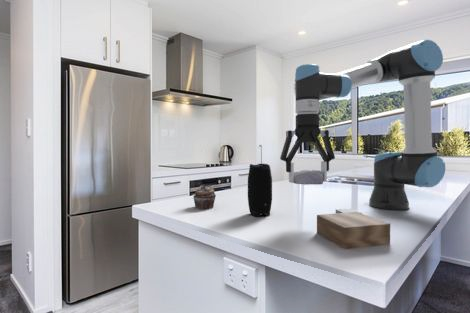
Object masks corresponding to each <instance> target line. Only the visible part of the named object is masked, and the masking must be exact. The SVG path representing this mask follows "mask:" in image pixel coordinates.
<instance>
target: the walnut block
mask: <svg viewBox="0 0 470 313" xmlns="http://www.w3.org/2000/svg"><path fill="white" fill-rule="evenodd" d="M361 213H362V212H361ZM361 213H358V212H350V213H336V212H335V213H325V214H316V234H318V235H319V236H321V237H323V238H324V239H326V240H328V241H329V242H331V243H333V244H335V245H337V246H338V247H340V248H342V249H343V250H351V249H360V248H369V247H379V246H381V247H382V246H388V245H391V223H389V222H387V221H384V220H381V219H377V218H375V217H372V216H370V215H367V214H364V213H362V214H361Z"/></svg>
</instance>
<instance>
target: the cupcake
mask: <svg viewBox="0 0 470 313" xmlns="http://www.w3.org/2000/svg"><path fill="white" fill-rule="evenodd" d="M215 192H216V191H215V189H214V186H213V184H200V186H199V187H198V188H197V189H196V191H195V194H194V196H192V197H193V202H194V207H195V209H196V210H205V211H206V210H211V209H213V208H214V206H215V205H214V204H215V201H216V197H217V195H216V194H215Z"/></svg>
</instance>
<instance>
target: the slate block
mask: <svg viewBox="0 0 470 313" xmlns="http://www.w3.org/2000/svg"><path fill="white" fill-rule="evenodd" d="M350 212H358V213H361V214H363V213H362V212H361V211H359V210H356V209H354V208H341V209H340V208H338V209H336V208H335V214H336V213H350Z"/></svg>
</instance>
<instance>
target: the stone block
mask: <svg viewBox="0 0 470 313" xmlns="http://www.w3.org/2000/svg"><path fill="white" fill-rule="evenodd" d="M323 183H324V181H323V172H322V171H321V170H316V169H315V170H314V169H312V170H309V169H308V170H305V169H304V170H300V171H294V183H293V184H296V185H323Z"/></svg>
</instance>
